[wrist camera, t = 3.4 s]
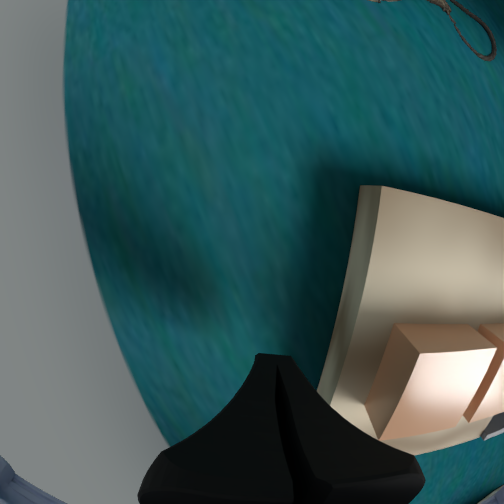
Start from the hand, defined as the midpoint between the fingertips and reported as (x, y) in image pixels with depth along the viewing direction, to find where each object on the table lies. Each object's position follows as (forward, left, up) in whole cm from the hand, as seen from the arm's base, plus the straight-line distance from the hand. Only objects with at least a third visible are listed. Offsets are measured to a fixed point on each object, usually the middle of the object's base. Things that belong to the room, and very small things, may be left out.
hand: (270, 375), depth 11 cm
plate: (0, -10, -3) cm, 11 cm away
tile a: (0, -7, -1) cm, 7 cm away
